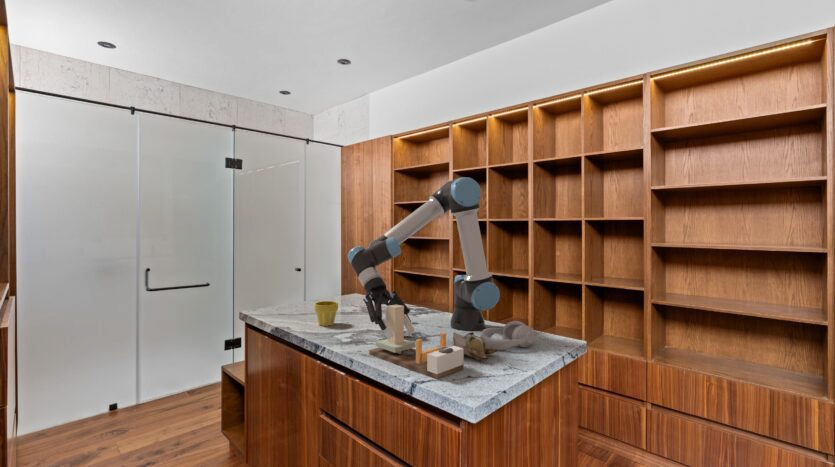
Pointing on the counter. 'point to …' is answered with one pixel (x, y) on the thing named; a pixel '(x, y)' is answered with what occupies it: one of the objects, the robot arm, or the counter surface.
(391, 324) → the upright wooden block
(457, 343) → the ceramic sculpture
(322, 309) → the plant pot
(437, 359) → the cream rectangular block
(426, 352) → the frame
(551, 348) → the counter surface
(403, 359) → the rail base
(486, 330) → the headphones
